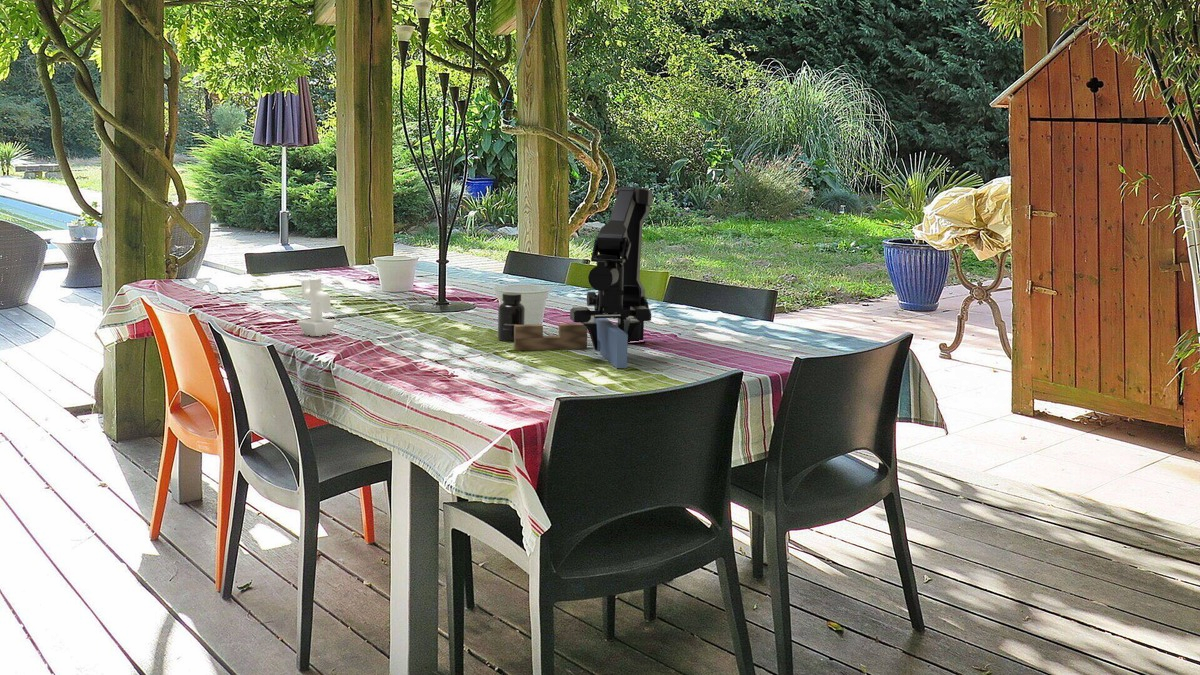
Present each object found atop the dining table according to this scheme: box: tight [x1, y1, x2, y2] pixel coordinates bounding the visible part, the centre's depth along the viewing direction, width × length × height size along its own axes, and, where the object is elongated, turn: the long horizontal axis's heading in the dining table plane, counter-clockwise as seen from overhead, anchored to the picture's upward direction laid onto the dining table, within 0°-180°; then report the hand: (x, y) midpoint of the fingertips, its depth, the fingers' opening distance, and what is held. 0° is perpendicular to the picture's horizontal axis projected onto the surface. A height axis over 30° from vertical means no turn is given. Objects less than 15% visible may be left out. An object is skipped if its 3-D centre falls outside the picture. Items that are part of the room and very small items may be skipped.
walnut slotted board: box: [513, 322, 588, 352], centre depth 258 cm, size 18×2×6 cm, turn 103°
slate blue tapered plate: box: [594, 318, 629, 369], centre depth 248 cm, size 24×2×8 cm, turn 13°
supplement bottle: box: [497, 292, 526, 343], centre depth 268 cm, size 7×7×12 cm
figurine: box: [296, 276, 338, 337], centre depth 270 cm, size 7×9×15 cm
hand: (609, 349), depth 249 cm, fingers open, 7 cm apart
